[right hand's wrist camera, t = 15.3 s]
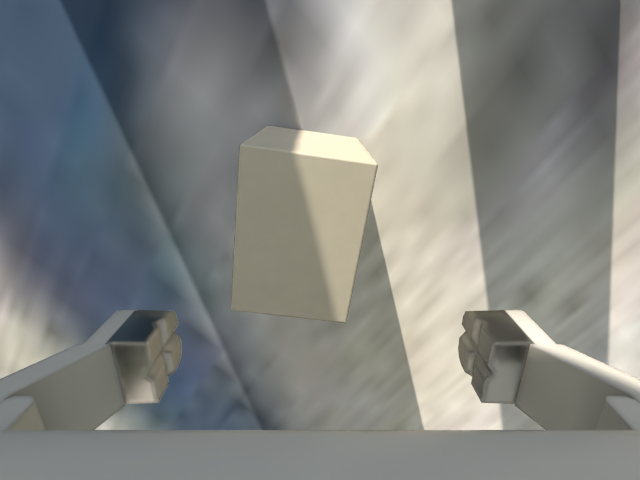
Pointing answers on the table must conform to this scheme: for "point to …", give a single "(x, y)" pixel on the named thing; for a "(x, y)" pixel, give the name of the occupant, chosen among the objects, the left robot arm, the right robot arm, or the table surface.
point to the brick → (300, 223)
